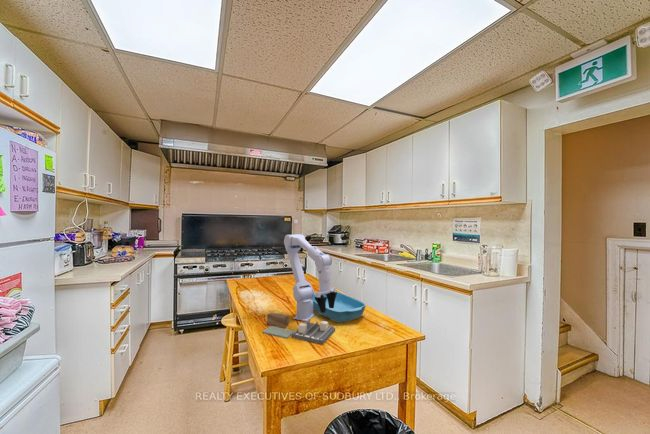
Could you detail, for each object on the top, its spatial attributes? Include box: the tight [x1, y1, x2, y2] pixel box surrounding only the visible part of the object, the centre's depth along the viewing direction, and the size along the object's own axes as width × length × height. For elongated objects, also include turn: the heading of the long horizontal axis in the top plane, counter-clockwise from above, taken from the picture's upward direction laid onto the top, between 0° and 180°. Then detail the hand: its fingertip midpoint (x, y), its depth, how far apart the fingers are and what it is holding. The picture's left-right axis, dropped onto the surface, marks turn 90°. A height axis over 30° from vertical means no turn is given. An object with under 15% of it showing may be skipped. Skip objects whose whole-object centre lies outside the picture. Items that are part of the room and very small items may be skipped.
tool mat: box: [261, 325, 295, 339], centre depth 119 cm, size 6×13×1 cm, turn 67°
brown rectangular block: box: [266, 311, 290, 329], centre depth 128 cm, size 4×10×5 cm, turn 66°
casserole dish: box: [312, 290, 367, 323], centre depth 146 cm, size 37×22×7 cm, turn 33°
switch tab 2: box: [319, 320, 329, 331], centre depth 119 cm, size 2×3×3 cm
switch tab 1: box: [297, 322, 307, 333], centre depth 117 cm, size 2×3×3 cm
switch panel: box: [290, 319, 336, 345], centre depth 119 cm, size 14×15×2 cm
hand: (327, 310), depth 123 cm, fingers open, 7 cm apart
